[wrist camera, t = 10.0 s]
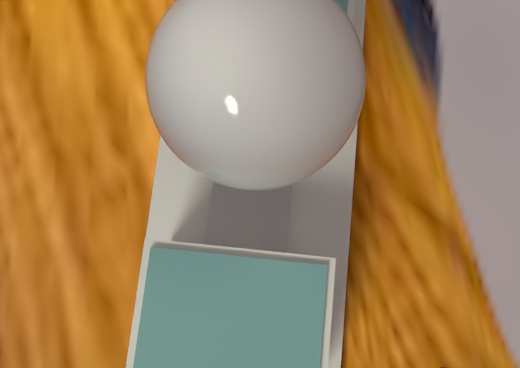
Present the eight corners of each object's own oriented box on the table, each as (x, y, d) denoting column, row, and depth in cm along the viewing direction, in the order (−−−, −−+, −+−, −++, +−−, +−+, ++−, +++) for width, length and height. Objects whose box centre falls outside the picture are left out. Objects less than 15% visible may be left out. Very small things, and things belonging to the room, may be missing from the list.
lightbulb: (348, 197, 22) (431, 112, 11) (209, 241, 22) (157, 197, 11) (302, 69, 23) (338, -120, 12) (170, 108, 23) (88, -51, 12)
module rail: (333, 444, 21) (350, 491, 16) (122, 419, 21) (81, 457, 17) (368, -61, 25) (389, -137, 21) (194, -74, 26) (177, -151, 21)
